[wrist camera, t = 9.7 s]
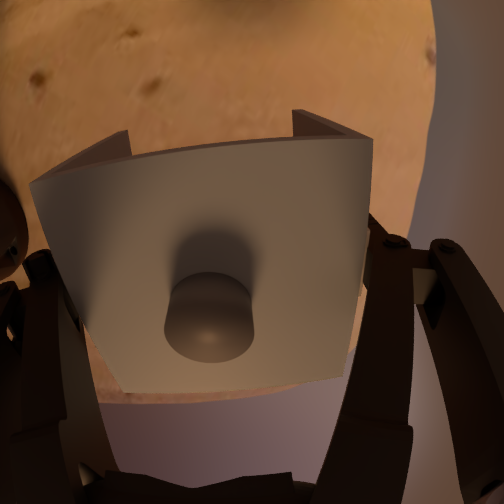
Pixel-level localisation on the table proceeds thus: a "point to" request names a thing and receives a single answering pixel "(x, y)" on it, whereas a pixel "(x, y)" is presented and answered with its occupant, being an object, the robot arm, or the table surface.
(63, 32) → the table surface
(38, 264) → the robot arm
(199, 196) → the cover
